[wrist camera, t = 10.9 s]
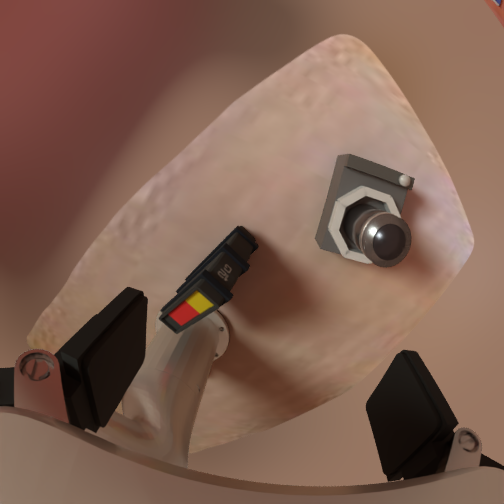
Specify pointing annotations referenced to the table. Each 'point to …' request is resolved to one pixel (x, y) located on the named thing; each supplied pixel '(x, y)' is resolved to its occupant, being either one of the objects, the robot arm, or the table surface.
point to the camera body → (358, 200)
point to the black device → (210, 282)
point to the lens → (378, 234)
